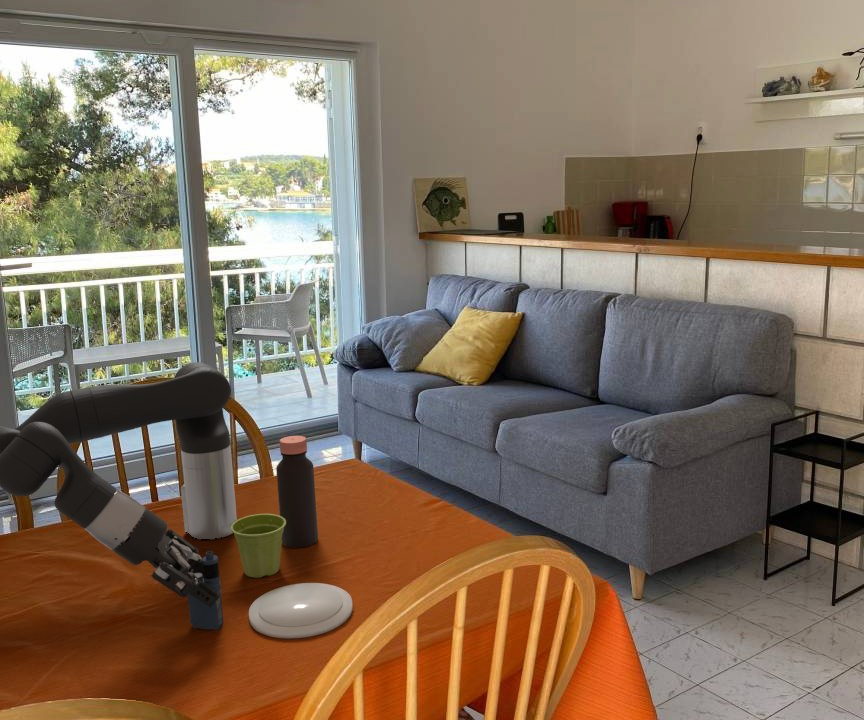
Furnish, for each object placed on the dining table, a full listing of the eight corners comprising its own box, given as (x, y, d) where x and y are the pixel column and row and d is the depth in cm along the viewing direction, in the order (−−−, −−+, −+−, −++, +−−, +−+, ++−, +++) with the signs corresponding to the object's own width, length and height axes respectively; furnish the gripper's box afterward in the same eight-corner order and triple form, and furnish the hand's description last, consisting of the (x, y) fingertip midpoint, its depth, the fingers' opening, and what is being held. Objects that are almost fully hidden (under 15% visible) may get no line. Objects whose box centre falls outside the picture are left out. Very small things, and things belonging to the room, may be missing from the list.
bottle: (311, 531, 166) (305, 432, 162) (323, 544, 160) (316, 441, 156) (277, 538, 163) (269, 437, 159) (287, 551, 157) (279, 446, 153)
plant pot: (299, 562, 152) (295, 516, 150) (272, 585, 143) (268, 537, 142) (252, 556, 155) (249, 511, 153) (224, 579, 146) (219, 531, 145)
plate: (227, 626, 130) (226, 617, 130) (288, 582, 144) (288, 574, 144) (315, 647, 123) (315, 638, 123) (371, 598, 138) (370, 590, 137)
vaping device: (220, 631, 129) (213, 556, 127) (187, 628, 130) (180, 554, 128) (227, 622, 132) (220, 549, 129) (195, 620, 133) (188, 547, 130)
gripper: (115, 527, 132) (200, 588, 137) (102, 566, 118) (197, 631, 123) (147, 491, 132) (231, 552, 137) (138, 525, 118) (232, 592, 123)
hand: (215, 589), depth 130 cm, fingers open, 7 cm apart
